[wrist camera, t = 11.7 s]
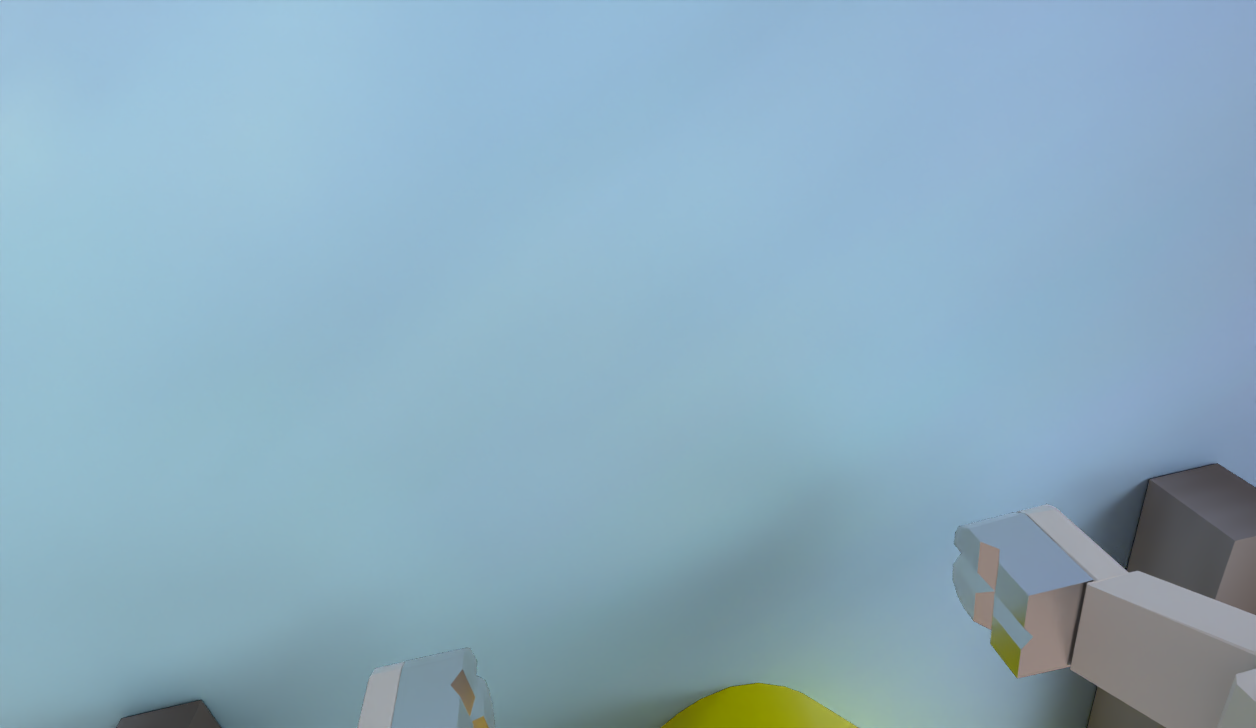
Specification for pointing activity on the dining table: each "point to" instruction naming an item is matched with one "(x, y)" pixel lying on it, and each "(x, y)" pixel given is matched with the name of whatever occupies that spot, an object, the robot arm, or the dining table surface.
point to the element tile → (757, 710)
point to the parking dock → (1163, 547)
